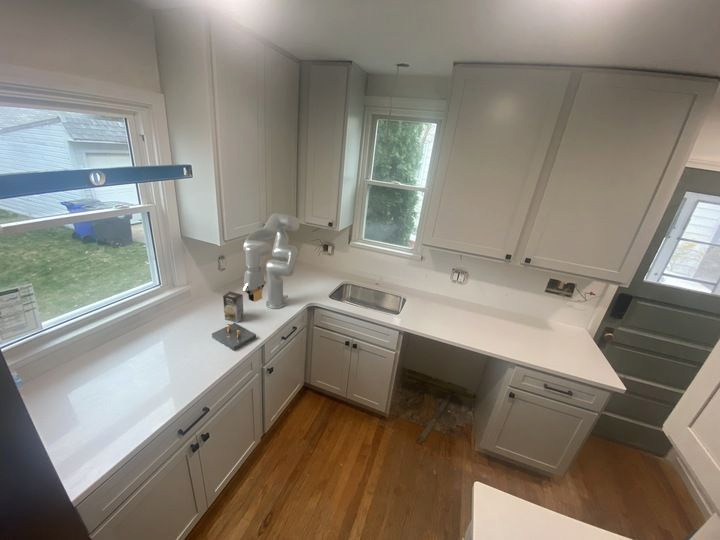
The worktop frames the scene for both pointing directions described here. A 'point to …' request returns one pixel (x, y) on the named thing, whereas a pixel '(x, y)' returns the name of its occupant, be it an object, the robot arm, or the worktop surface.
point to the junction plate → (234, 336)
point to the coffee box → (233, 306)
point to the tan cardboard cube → (257, 294)
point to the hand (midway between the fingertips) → (255, 298)
